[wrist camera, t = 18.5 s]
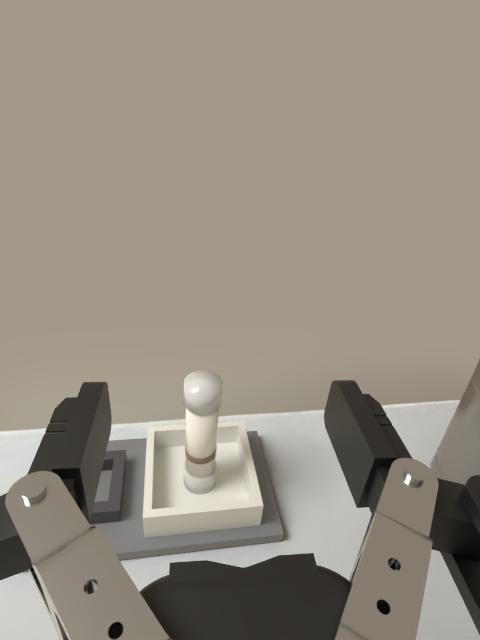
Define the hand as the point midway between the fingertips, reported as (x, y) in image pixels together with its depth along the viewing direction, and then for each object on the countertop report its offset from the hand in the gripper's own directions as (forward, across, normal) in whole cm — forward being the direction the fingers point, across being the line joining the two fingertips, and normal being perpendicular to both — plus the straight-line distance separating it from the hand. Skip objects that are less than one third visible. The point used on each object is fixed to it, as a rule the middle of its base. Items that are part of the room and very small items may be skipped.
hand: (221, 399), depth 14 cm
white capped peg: (+18, 0, +28) cm, 34 cm away
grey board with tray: (+18, +5, +30) cm, 35 cm away
